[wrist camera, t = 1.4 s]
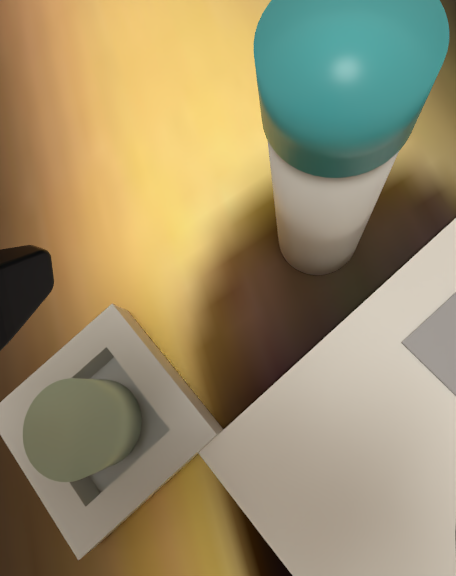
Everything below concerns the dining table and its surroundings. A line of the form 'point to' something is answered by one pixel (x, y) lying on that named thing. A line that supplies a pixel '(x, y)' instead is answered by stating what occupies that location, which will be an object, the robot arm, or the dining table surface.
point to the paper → (360, 436)
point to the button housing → (153, 437)
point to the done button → (80, 428)
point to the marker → (340, 112)
